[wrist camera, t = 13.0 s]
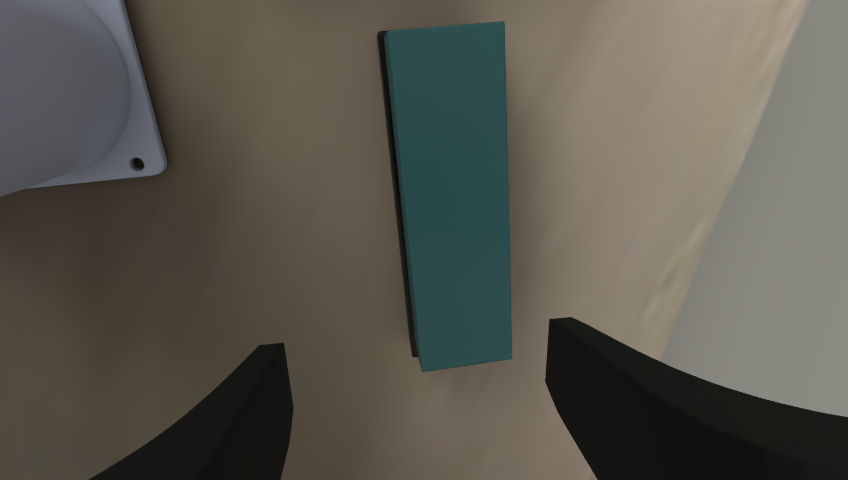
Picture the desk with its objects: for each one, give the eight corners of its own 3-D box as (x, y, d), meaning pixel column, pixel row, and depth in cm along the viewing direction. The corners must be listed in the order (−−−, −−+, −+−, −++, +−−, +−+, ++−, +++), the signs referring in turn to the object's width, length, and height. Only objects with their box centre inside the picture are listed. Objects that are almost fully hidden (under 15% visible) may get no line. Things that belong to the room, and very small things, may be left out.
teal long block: (492, 330, 24) (517, 378, 20) (409, 342, 23) (418, 393, 19) (481, 25, 19) (510, 13, 15) (376, 34, 18) (380, 24, 15)
